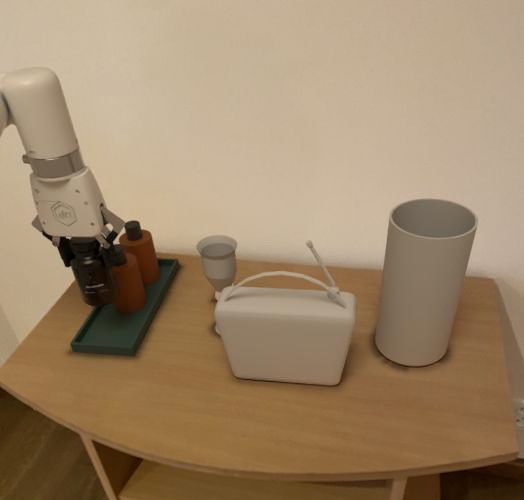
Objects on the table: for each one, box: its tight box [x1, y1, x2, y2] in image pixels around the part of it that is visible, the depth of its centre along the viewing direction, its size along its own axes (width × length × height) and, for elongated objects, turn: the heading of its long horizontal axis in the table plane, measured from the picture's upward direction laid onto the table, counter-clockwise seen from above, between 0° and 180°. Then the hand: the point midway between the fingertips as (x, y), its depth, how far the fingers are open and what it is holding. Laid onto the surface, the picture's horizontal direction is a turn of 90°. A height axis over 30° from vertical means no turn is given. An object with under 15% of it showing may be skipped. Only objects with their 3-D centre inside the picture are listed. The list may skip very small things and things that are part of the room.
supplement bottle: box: [69, 237, 120, 308], centre depth 89 cm, size 7×7×12 cm
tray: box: [69, 257, 181, 357], centre depth 105 cm, size 30×12×2 cm, turn 171°
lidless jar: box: [214, 283, 235, 301], centre depth 105 cm, size 5×3×5 cm
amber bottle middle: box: [113, 243, 147, 313], centre depth 101 cm, size 7×7×13 cm
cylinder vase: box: [374, 198, 479, 367], centre depth 83 cm, size 12×12×25 cm
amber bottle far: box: [118, 219, 161, 286], centre depth 108 cm, size 7×7×13 cm
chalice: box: [195, 234, 238, 335], centre depth 92 cm, size 7×7×18 cm
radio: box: [213, 239, 358, 387], centre depth 81 cm, size 22×8×25 cm, turn 80°
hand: (91, 263), depth 88 cm, fingers closed on supplement bottle, 6 cm apart
